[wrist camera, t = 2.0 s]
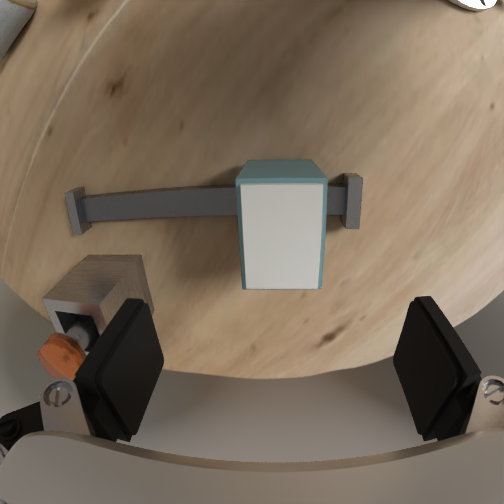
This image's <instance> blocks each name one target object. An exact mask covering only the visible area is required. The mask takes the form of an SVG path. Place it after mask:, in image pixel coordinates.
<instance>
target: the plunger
mask: <svg viewBox="0 0 504 504" xmlns="http://www.w3.org/2000/svg"><path fill="white" fill-rule="evenodd" d="M97 331H98V329H97V326H96V324H95V321H94V319H93V316H90V315H82V314H81V315H80V317H79V318H78V319H77V320H76V322H75V323H74V324H73V325H72V327H71V328H70V329H69V330H68V332H67V333H66V334H63V333H58V332H57V333H53V334H52V335H51V337H50V338H49V339H48V340H47V341H46V343H45V344H44V345H43V346H42V348H41V349H40V350H39V352H38V357H39V360H40V362H41V363H42V365H43V367H44V368H45V369H46V370H47V371H48V372H49V373H50V374H51V375H52V376H53V377H54V378H56V379H57V378H67V379H70V380H72V381H73V380H74V378H75V377H76V376H75V373H76V372H77V370H78V369H79V367H80V366H81V364H82V362H83V361H84V359H85V358H86V354H85V352H84V350H85V349H86V347H87V346H88V344H89V343H90V341H91V340H92V338H93V337H94V336H95V334H96V333H97Z"/></svg>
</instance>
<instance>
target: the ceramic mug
mask: <svg viewBox="0 0 504 504" xmlns="http://www.w3.org/2000/svg"><path fill="white" fill-rule="evenodd" d="M36 7H37V0H0V59H2V58H3V57H4V56H5V54H6V52H7V51H8V49H9V48H10V46H11V44H12V43H13V41H14V40H15V38H16V37H17V35H18V34H19V32H20V31H21V29H22V28H23V27H24V25H25V24H26V23H27V21H28V20H29V19H30V17H31V16H32V14H33V13H34V11H35V9H36Z"/></svg>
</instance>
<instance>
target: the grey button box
mask: <svg viewBox="0 0 504 504" xmlns="http://www.w3.org/2000/svg"><path fill="white" fill-rule="evenodd" d="M127 298H138V299H143V300H144V302H145V303H148V305H149V308H150V312H151V315H152V314H153V312H154V307H153V303H152V299H151V295H150V291H149V287H148V283H147V279H146V274H145V270H144V265H143V261H142V256H141V255H88V256H87V257H86V258H84V259H83V260H82V261H81V262H80V263H79V264H78V265H77V266H76V267H74V268H73V269H72V270H71V271H70V272H69V273H68V274H67V275H66V276H65V277H64V278H62V279H61V280H60V281H59V282H58V283H57V284H56V285H55V286H54V287H53V288H52V289H51V290H50V291H49V292H48V293H47V294H46V295H45V296H44V297H43V298H42V300H43V303H44V305H45V307H46V310H47V312H48V314H49V317H50V319H51V321H52V323H53V326H54V328H55V330H56V332H58V333H63V334H66V333H67V332H68V330H69V329H70V328H71V327H72V325H73V324H74V323H75V322H76V320H77V319H78V318H79V317H80V315H81V314H82V315H90V316H93V319H94V321H95V324H96V326H97V329H98V331H97V333H96V334H95V336H94V337H93V338H92V340H91V341H90V343H89V344H88V346H87V347H86V349H85V350H84V352H85V354H86V356H87V355H88V353H89V352H90V350H91V349H92V347H93V346H94V344H95V343H96V341H97V340H98V338H99V337H100V335H101V334H102V333H103V331H104V330H105V328H106V327H107V325H108V324H109V322H110V321H111V320H112V318H113V317H114V315H115V314H116V313H117V311H118V310H119V308H120V307H121V306H122V304H123V303H124V301H125V300H126V299H127Z"/></svg>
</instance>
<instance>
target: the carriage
mask: <svg viewBox="0 0 504 504" xmlns="http://www.w3.org/2000/svg"><path fill="white" fill-rule="evenodd" d="M327 184H328V178H327V177H326V176H325V175H324V173H323V172H322V171H321V170H320V169H319V168H318V167H317V165H316V164H315V163H314V162H313V161H312V160H307V159H276V160H248V161H247V162H246V164H245V165H244V167H243V168H242V170H241V171H240V173H239V174H238V176H237V177H236V197H237V214H238V230H239V246H240V261H241V277H242V289H261V290H278V289H321V287H322V276H323V263H324V249H325V232H326V212H327Z"/></svg>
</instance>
